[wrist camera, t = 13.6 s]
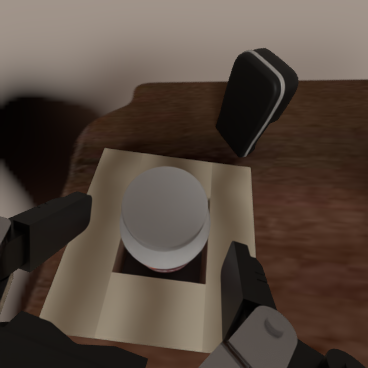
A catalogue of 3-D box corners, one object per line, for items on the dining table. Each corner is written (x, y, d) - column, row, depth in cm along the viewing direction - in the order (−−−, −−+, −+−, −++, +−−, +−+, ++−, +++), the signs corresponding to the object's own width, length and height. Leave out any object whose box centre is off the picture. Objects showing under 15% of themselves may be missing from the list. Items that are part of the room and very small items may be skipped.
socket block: (237, 186, 25) (250, 167, 21) (240, 341, 17) (261, 359, 13) (115, 169, 24) (104, 148, 20) (65, 318, 17) (33, 330, 13)
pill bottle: (129, 268, 18) (84, 253, 9) (144, 209, 21) (123, 147, 12) (192, 278, 18) (218, 274, 9) (199, 217, 21) (224, 162, 11)
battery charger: (260, 151, 27) (313, 76, 17) (239, 161, 26) (283, 86, 16) (233, 119, 30) (265, 37, 20) (213, 126, 29) (236, 44, 19)
